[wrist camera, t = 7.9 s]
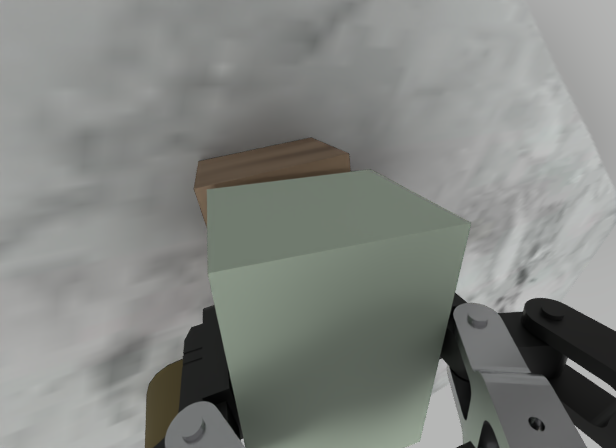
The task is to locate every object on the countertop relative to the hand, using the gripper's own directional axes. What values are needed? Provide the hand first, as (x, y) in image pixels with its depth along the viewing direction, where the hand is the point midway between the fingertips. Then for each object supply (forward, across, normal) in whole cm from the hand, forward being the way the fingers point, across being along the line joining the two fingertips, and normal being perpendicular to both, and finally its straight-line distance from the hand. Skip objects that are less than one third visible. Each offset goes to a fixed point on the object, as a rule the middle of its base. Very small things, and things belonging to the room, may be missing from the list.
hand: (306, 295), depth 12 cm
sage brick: (+1, 0, 0) cm, 1 cm away
